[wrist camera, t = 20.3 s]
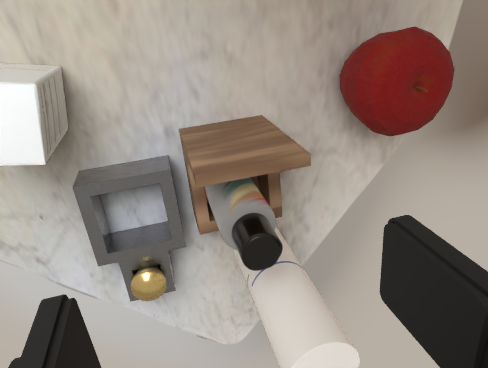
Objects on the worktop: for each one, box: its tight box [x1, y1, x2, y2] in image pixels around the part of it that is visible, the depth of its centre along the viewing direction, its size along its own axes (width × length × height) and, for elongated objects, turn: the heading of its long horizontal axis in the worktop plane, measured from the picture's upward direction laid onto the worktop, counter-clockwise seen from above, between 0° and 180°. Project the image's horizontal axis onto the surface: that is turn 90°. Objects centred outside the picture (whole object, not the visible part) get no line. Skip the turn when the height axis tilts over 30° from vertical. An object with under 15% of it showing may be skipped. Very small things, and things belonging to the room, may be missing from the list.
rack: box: [179, 115, 311, 234], centre depth 44 cm, size 12×11×16 cm
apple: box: [340, 27, 454, 136], centre depth 45 cm, size 12×12×13 cm
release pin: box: [131, 264, 167, 301], centre depth 50 cm, size 4×4×6 cm
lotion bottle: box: [204, 177, 283, 271], centre depth 41 cm, size 6×6×20 cm
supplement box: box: [0, 63, 69, 166], centre depth 36 cm, size 7×7×13 cm
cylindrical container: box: [233, 227, 360, 368], centre depth 45 cm, size 7×7×25 cm
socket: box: [73, 156, 186, 301], centre depth 49 cm, size 18×11×5 cm, turn 6°
